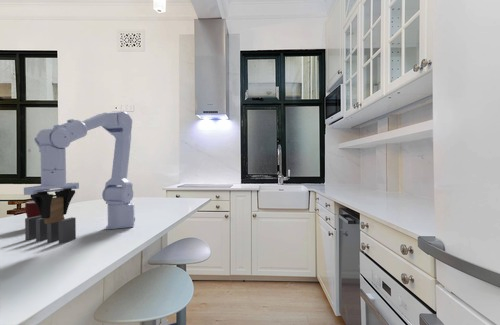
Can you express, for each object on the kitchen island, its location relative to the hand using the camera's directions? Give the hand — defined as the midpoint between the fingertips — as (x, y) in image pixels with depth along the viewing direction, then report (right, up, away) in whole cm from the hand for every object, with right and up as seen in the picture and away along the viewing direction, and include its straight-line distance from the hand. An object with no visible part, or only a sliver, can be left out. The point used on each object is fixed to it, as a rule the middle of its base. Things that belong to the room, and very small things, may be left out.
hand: (54, 216), depth 72 cm
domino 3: (0, -2, 0) cm, 2 cm away
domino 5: (-1, -9, +7) cm, 12 cm away
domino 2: (-10, -9, +9) cm, 16 cm away
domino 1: (-14, -9, +10) cm, 20 cm away
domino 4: (-5, -9, +8) cm, 13 cm away
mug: (-23, -10, +24) cm, 34 cm away
